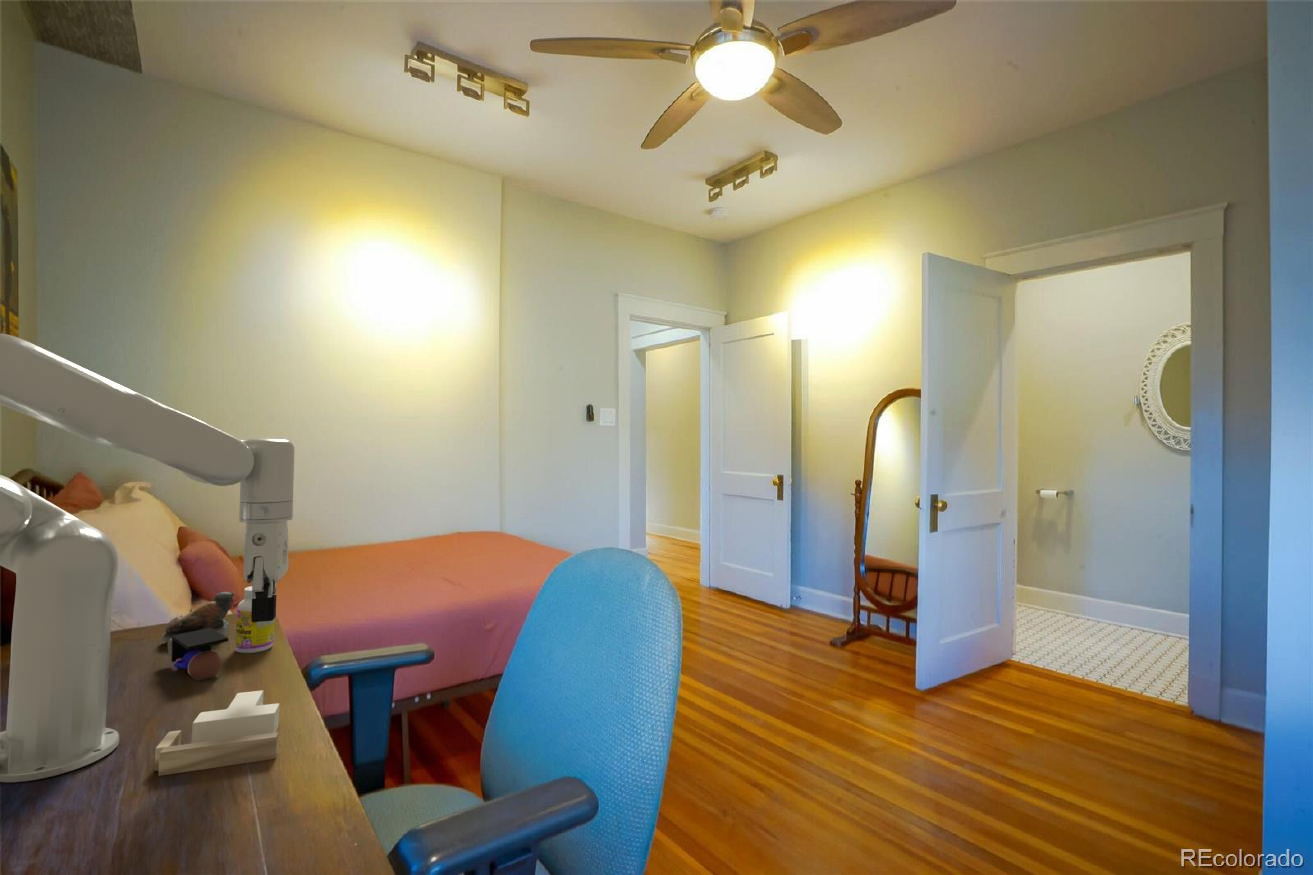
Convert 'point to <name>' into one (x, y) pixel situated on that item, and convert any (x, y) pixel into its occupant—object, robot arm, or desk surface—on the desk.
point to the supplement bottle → (252, 628)
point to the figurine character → (197, 652)
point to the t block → (237, 719)
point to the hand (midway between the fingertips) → (263, 620)
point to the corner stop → (212, 752)
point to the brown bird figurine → (203, 617)
